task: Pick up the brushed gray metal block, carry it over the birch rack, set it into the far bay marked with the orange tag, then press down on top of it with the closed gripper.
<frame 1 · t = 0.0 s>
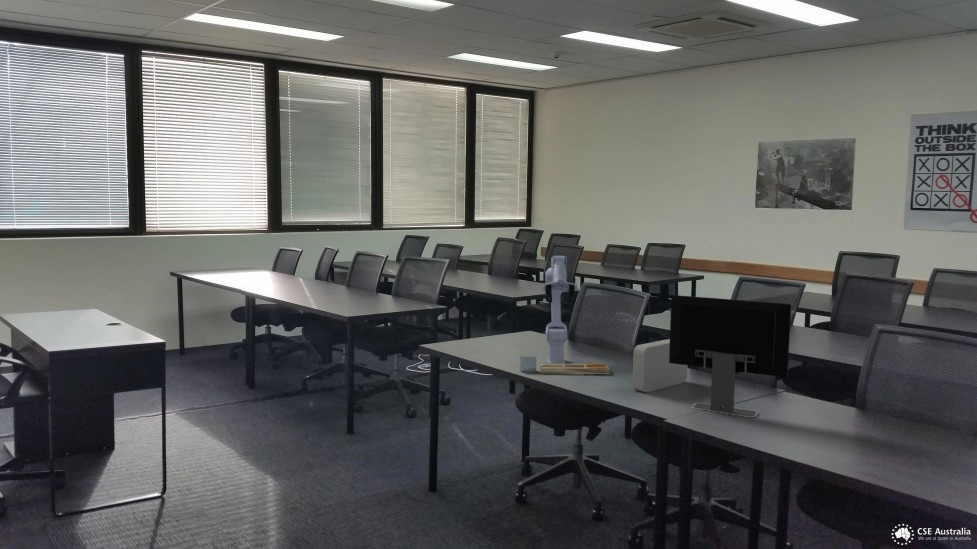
hand: (560, 301, 306), 32 cm above the table, tool tilted 50°, fingers open, 7 cm apart
rack: (574, 371, 318), on the table
brushed gray metal block: (528, 371, 319), on the table
rounded white slab: (660, 386, 295), on the table
computer monitor: (723, 410, 262), on the table
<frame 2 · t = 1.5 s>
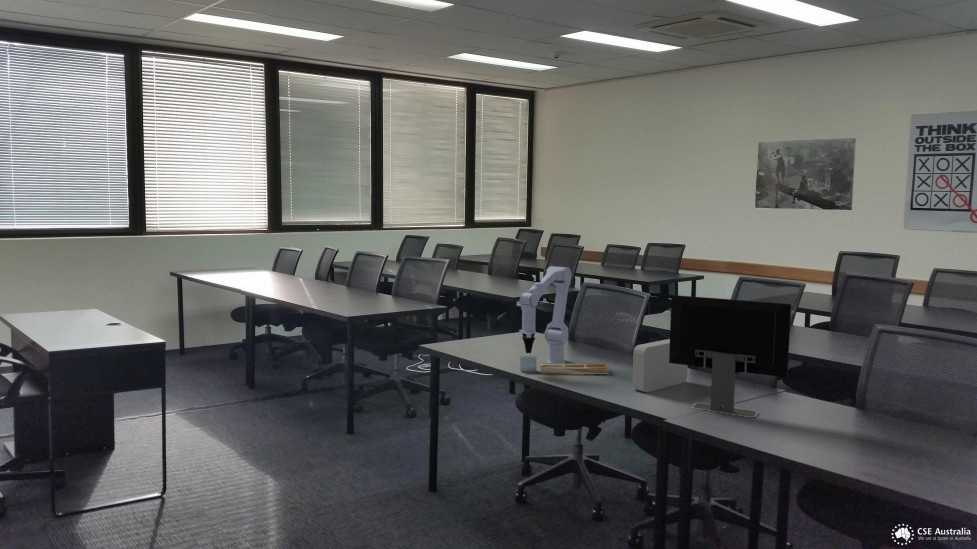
hand: (528, 351, 318), 9 cm above the table, tool pointing down, fingers open, 7 cm apart
nothing on the table moved.
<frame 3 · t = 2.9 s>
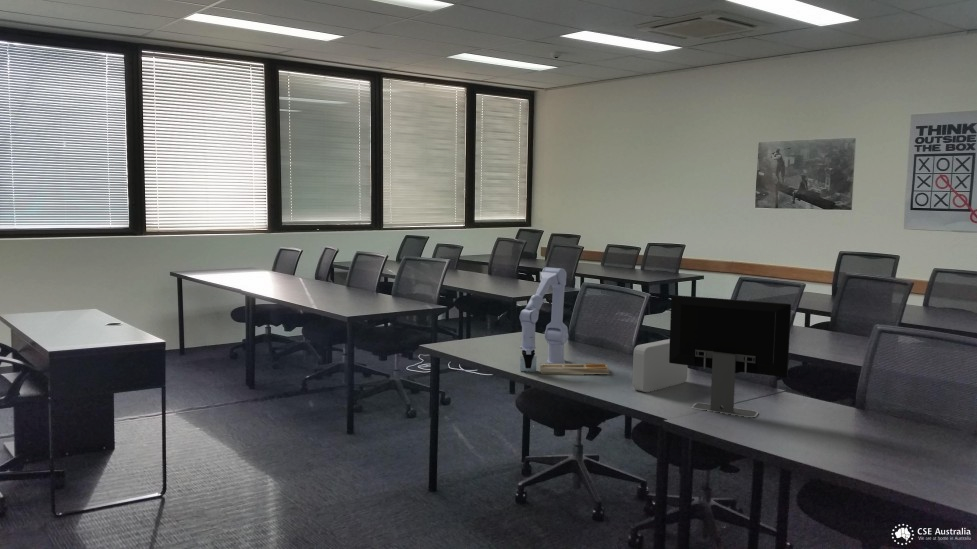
hand: (528, 367, 319), 2 cm above the table, tool pointing down, fingers closed on brushed gray metal block, 2 cm apart
brushed gray metal block: (528, 371, 319), on the table, touching gripper
everything else where it was.
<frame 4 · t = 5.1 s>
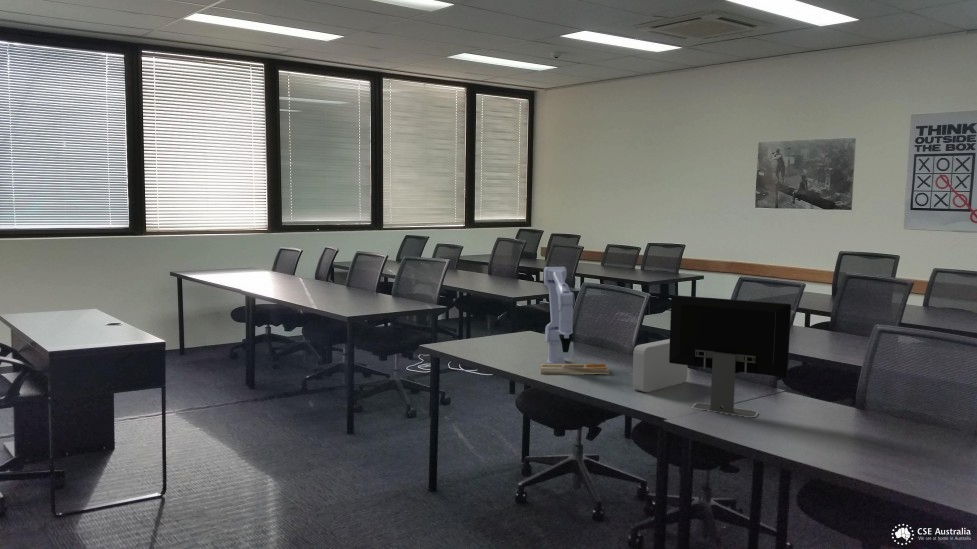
hand: (565, 351, 317), 9 cm above the table, tool pointing down, fingers closed on brushed gray metal block, 2 cm apart
brushed gray metal block: (565, 357, 318), point 6 cm above the table, touching gripper
everything else where it was.
when the fingers open (4 cm above the table, at t = 7.3 s): brushed gray metal block stays where it is, resting on rack.
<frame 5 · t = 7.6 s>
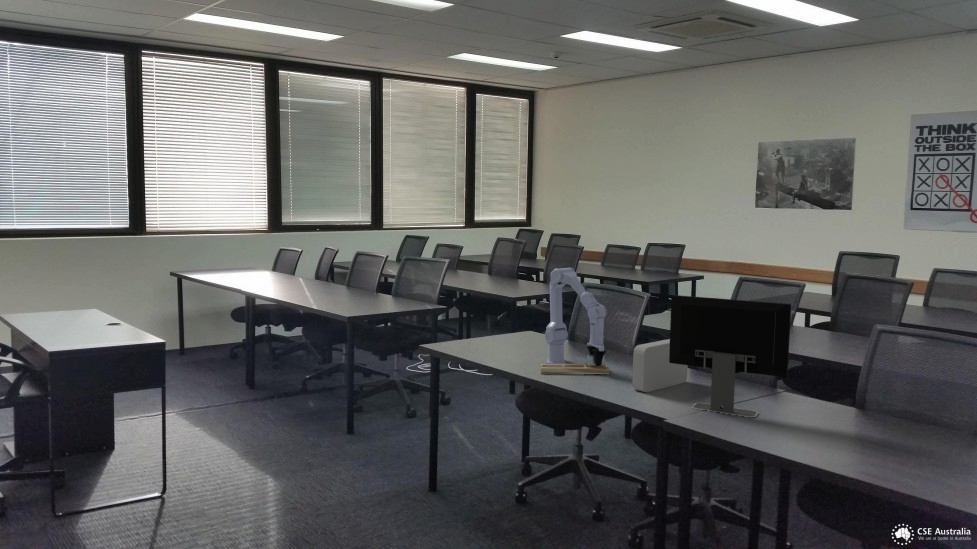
hand: (596, 364, 318), 4 cm above the table, tool pointing down, fingers open, 5 cm apart
brushed gray metal block: (595, 370, 318), point 1 cm above the table, touching rack
everything else where it was.
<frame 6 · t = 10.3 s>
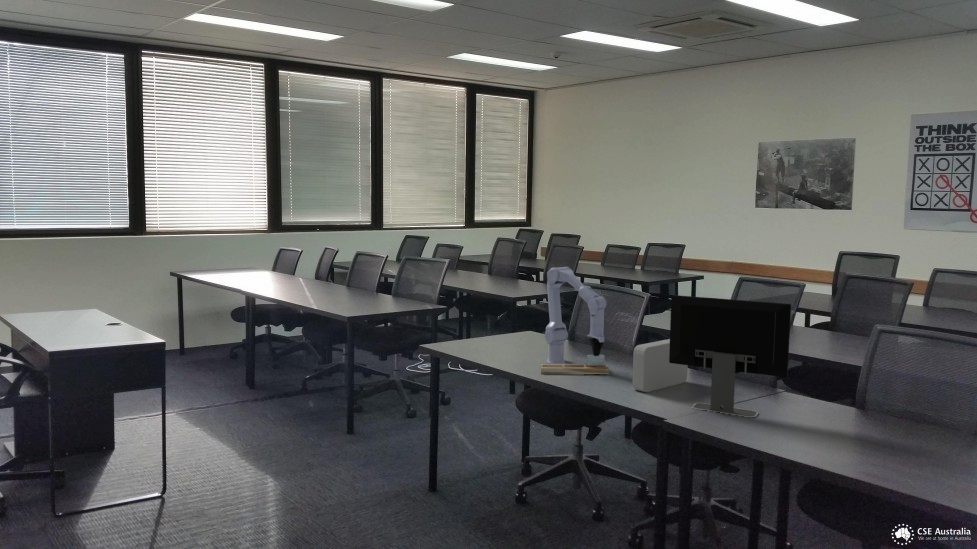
hand: (596, 355, 317), 7 cm above the table, tool pointing down, fingers closed, pressing on brushed gray metal block
brushed gray metal block: (595, 370, 318), point 1 cm above the table, touching gripper, rack
everything else where it was.
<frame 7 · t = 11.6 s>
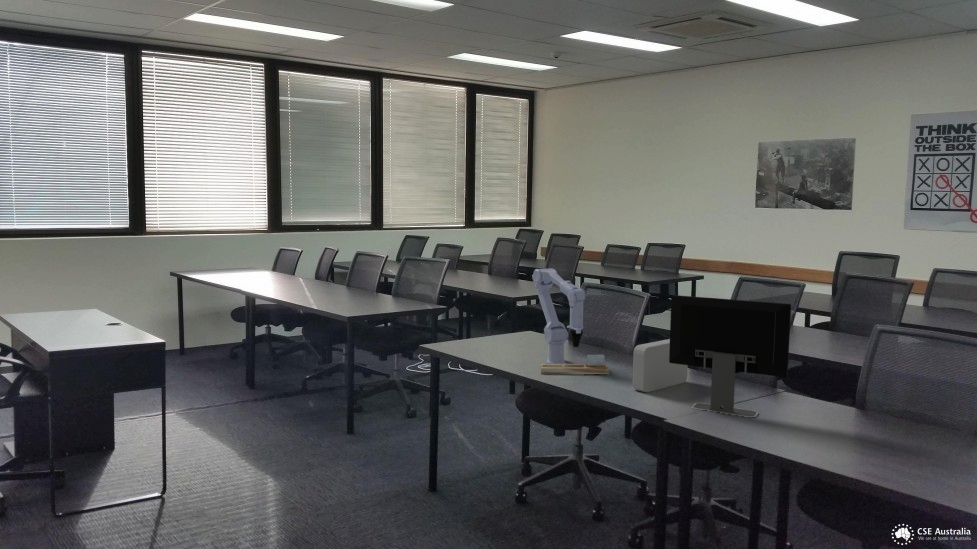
hand: (575, 346, 323), 10 cm above the table, tool pointing down, fingers closed
brushed gray metal block: (595, 370, 318), point 1 cm above the table, touching rack
everything else where it was.
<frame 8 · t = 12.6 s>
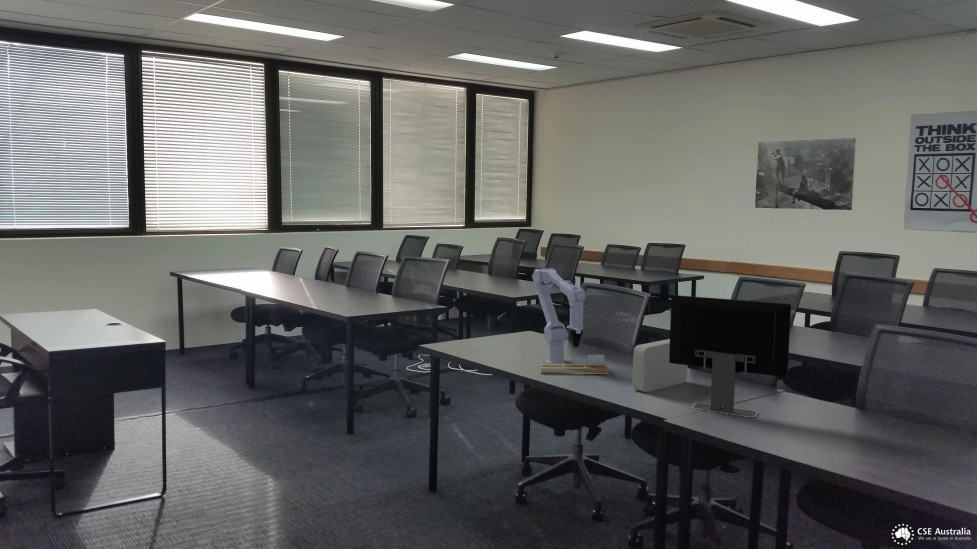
hand: (575, 346, 323), 10 cm above the table, tool pointing down, fingers closed
nothing on the table moved.
at the end: brushed gray metal block 0.3 cm from the target spot on the rack, point 0.9 cm above the rack's base; brushed gray metal block tilted 0°; the gripper is holding nothing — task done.
